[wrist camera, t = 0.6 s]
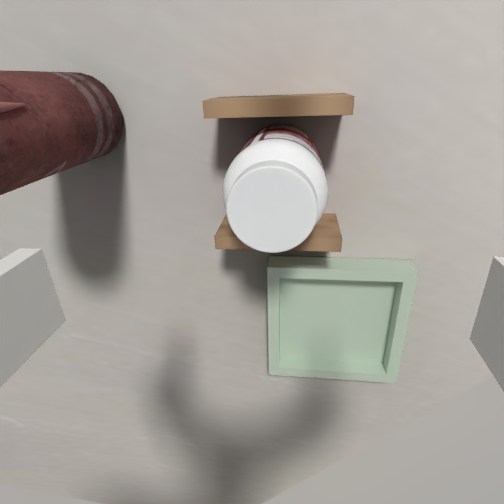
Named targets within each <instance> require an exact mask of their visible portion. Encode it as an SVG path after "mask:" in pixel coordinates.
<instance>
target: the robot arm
mask: <svg viewBox="0 0 504 504" xmlns="http://www.w3.org/2000/svg"><path fill="white" fill-rule="evenodd" d="M65 321H66V320H65V317H64V314H63V311H62V308H61V305H60V302H59V299H58V296H57V293H56V290H55V287H54V284H53V281H52V278H51V275H50V272H49V269H48V266H47V263H46V260H45V257H44V255H43V252H42V249H18V250H16V251H15V252H13V253H11V254H10V255H8V256H6V257H5V258H3V259H1V260H0V387H1V386H2V385H3V384H4V383H5V382H6V381H7V380H8V379H9V378H10V377H11V376H12V375H13V374H14V373H15V372H16V371H17V370H18V369H19V368H20V367H21V366H22V365H23V364H24V363H25V362H26V361H27V360H28V359H29V357H30V356H31V355H32V354H33V353H34V352H35V351H36V350H37V349H38V348H39V347H40V346H41V345H42V344H43V343H44V342H45V341H46V340H47V339H48V338H49V337H50V336H51V335H52V334H53V333H54V332H55V331H56V330H57V329H58V328H59V327H60V326H61V325H62V324H63V323H64V322H65ZM470 340H471V341H472V343H473V345H474V346H475V348H476V349H477V351H478V352H479V354H480V355H481V357H482V358H483V360H484V361H485V363H486V365H487V366H488V368H489V369H490V371H491V372H492V374H493V375H494V377H495V378H496V380H497V381H498V383H499V385H500V386H501V388H502V389H503V391H504V257H493V260H492V264H491V267H490V271H489V274H488V278H487V281H486V285H485V288H484V292H483V295H482V298H481V302H480V305H479V309H478V312H477V316H476V319H475V323H474V326H473V330H472V333H471V336H470Z"/></svg>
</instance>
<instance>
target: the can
mask: <svg viewBox="0 0 504 504" xmlns="http://www.w3.org/2000/svg"><path fill="white" fill-rule="evenodd" d="M121 133H122V117H121V112H120V108H119V106H118V104H117V102H116V100H115V98H114V96H113V95H112V93H111V92H110V91H109V90H108V89H107V87H106V86H105V85H104V84H102V83H101V82H100V81H98V80H97V79H95V78H94V77H92V76H89V75H86V74H82V73H71V72H34V71H0V195H2V194H4V193H7V192H9V191H12V190H15V189H17V188H20V187H22V186H25V185H28V184H30V183H33V182H35V181H38V180H40V179H43V178H46V177H48V176H51V175H53V174H56V173H58V172H61V171H64V170H66V169H69V168H71V167H74V166H77V165H79V164H82V163H84V162H87V161H89V160H92V159H95V158H97V157H100V156H102V155H105V154H107V153H109V152H110V151H111V150H112V149H113V148H114V147H115V146H116V145H117V143H118V141H119V139H120V137H121Z"/></svg>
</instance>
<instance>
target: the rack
mask: <svg viewBox="0 0 504 504" xmlns="http://www.w3.org/2000/svg"><path fill="white" fill-rule="evenodd" d="M353 107H354V96H352V95H349V94H346V93H331V94H300V95H269V96H238V97H218V98H213V99H209V100H204V101H203V111H204V118H240V117H281V116H322V115H353ZM214 237H215V248H216V249H241V250H256V249H253V248H251V247H249V246H247V245H246V244H244V243H243V242H242V241H241V240H240V239H239V238H238V237H237V236H236V235H235V233H234V232H233V230H232V228H231V227H230V224H229V222H228V218H227V214H226V216H225V218H224V220H223V222H222V223H221V225H220V227H219V229H218V231H217V233H216V235H215V236H214ZM341 246H342V236H341V232H340V229H339V225H338V221H337V217H336V214H322V217H321V218H320V220H319V221H318V222H317V224H316V225H315V226H314V228H313V230H312V231H311V233H310V234H309V236H308V237H307V238H306V239H305V240H304V241H303V242H302V243H301V244H299V245H298V246H296V247H294V248H292V249H290V250H287V251H328V252H341Z"/></svg>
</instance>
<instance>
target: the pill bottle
mask: <svg viewBox="0 0 504 504" xmlns="http://www.w3.org/2000/svg"><path fill="white" fill-rule="evenodd" d="M327 198H328V185H327V179H326V175H325V172H324V168H323V165H322V162H321V159H320V156H319V152H318V150H317V147H316V146H315V144H314V142H313V141H312V140H311V138H310V137H309V136H308V135H307V134H305V133H304V132H303V131H301V130H299V129H297V128H295V127H292V126H288V125H273V126H269V127H266V128H264V129H262V130H260V131H258V132H257V133H255V134H254V135H253V136H252V137H251V138H250V139H249V140H248V142H247V143H246V144H245V145H244V147H243V148H242V149H241V151H240V152H239V153H238V155H237V156H236V157H235V158H234V160H233V161H232V163H231V165H230V166H229V168H228V170H227V173H226V175H225V179H224V183H223V200H224V205H225V208H226V212H227V218H228V222H229V224H230V227H231V228H232V230H233V232H234V233H235V235H236V236H237V237H238V238H239V239H240V240H241V241H242V242H243V243H244V244H246V245H247V246H249V247H251V248H253V249H256V250H258V251H262V252H268V253H278V252H283V251H287V250H290V249H292V248H294V247H296V246H298V245H299V244H301V243H302V242H303V241H304V240H305V239H306V238H307V237H308V236H309V234H310V233H311V231H312V230H313V228H314V226H315V225H316V224H317V222H318V221H319V220H320V218H321V217H322V214H323V213H324V210H325V207H326V204H327Z"/></svg>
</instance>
